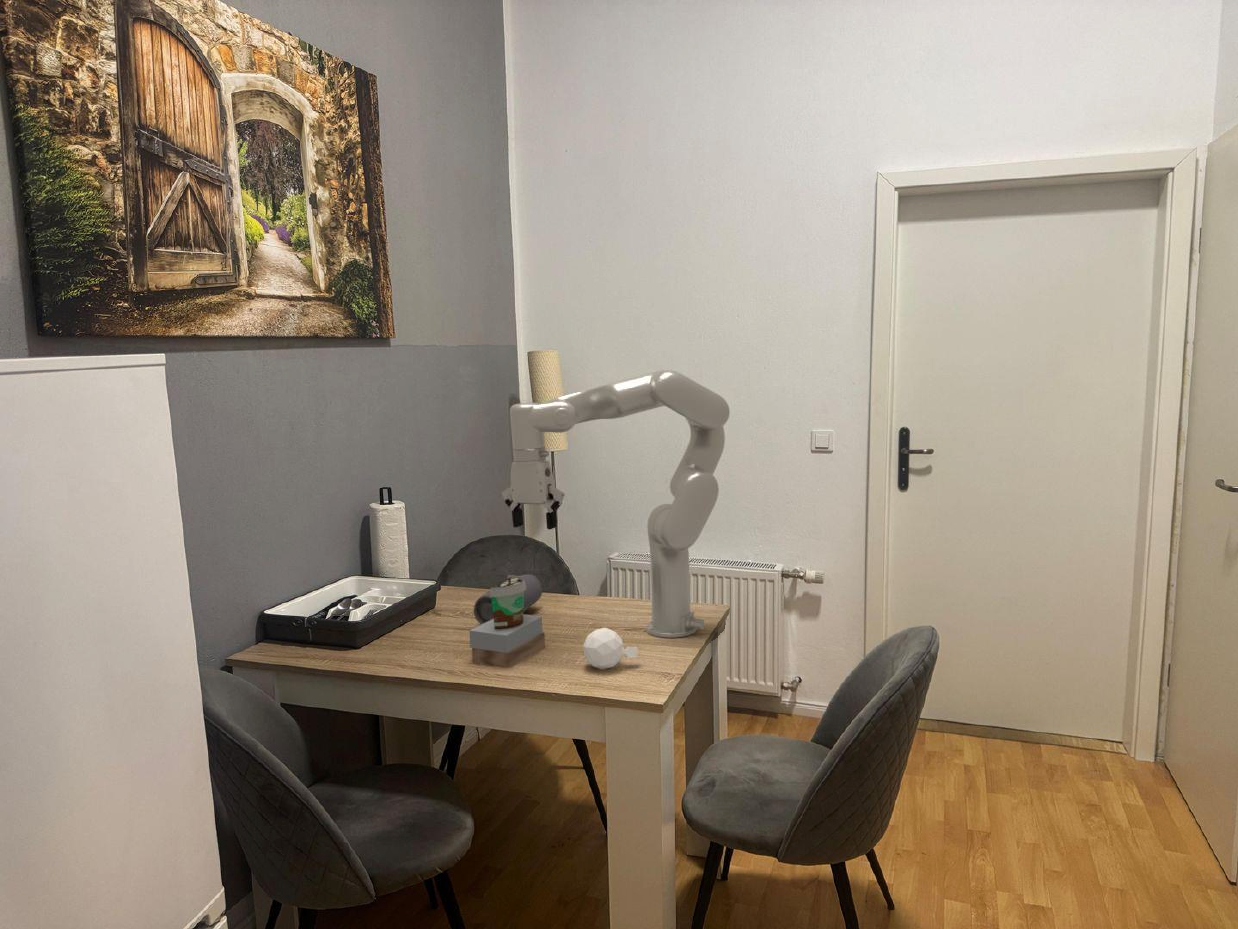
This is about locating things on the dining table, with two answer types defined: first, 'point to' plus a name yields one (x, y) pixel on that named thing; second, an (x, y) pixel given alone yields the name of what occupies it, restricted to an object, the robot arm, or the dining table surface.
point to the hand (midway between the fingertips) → (535, 527)
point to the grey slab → (505, 635)
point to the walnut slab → (509, 653)
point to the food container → (508, 602)
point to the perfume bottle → (606, 649)
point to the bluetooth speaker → (531, 596)
